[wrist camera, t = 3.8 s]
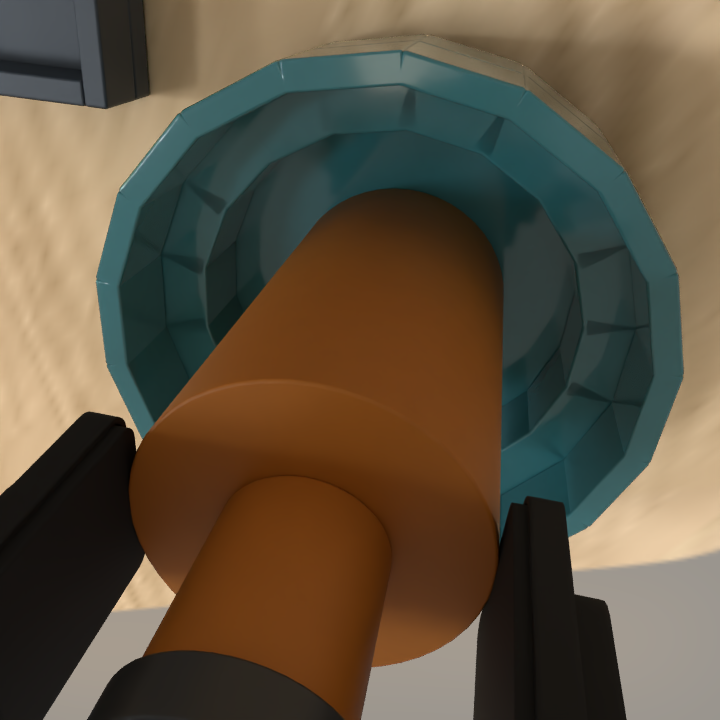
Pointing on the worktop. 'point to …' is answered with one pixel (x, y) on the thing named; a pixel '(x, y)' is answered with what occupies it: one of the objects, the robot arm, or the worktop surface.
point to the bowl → (434, 177)
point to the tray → (73, 51)
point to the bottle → (327, 474)
